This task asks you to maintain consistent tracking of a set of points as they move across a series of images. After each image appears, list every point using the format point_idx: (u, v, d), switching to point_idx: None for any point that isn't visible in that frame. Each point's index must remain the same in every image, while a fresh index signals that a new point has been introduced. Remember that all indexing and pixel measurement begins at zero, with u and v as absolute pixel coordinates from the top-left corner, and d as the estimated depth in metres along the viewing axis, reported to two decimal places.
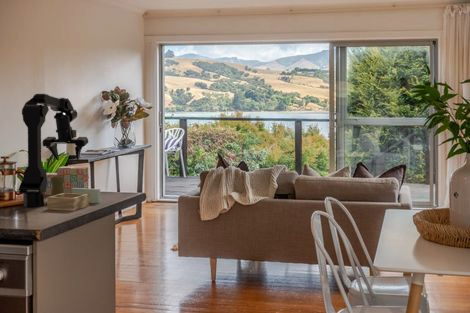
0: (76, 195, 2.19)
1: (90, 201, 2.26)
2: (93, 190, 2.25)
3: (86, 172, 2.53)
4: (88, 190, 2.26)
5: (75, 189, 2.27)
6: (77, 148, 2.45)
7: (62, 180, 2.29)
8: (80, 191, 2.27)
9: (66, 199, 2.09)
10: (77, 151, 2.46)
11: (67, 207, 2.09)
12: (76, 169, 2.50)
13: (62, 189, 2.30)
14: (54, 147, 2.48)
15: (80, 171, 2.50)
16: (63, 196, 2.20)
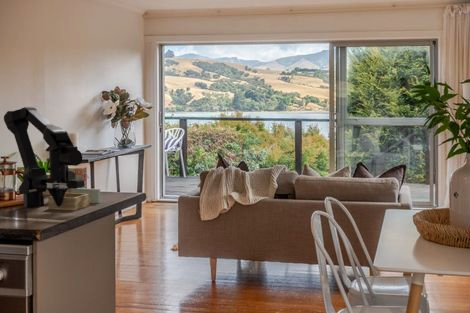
0: (77, 195, 2.20)
1: (90, 201, 2.26)
2: (93, 190, 2.25)
3: (84, 172, 2.53)
4: (88, 190, 2.26)
5: (75, 189, 2.27)
6: (58, 190, 2.05)
7: None
8: (80, 191, 2.27)
9: (67, 199, 2.09)
10: (58, 194, 2.06)
11: (68, 207, 2.10)
12: (75, 169, 2.50)
13: None
14: (55, 190, 2.08)
15: (78, 171, 2.50)
16: (64, 196, 2.20)
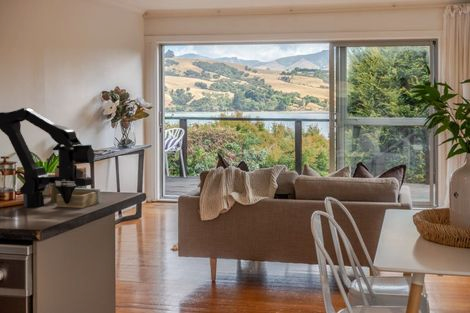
0: (84, 193, 2.25)
1: None
2: (93, 190, 2.25)
3: (84, 172, 2.54)
4: (88, 190, 2.26)
5: (75, 189, 2.27)
6: (66, 187, 2.10)
7: None
8: None
9: (75, 196, 2.15)
10: (66, 191, 2.11)
11: (76, 204, 2.15)
12: None
13: None
14: (64, 187, 2.13)
15: None
16: (72, 194, 2.25)
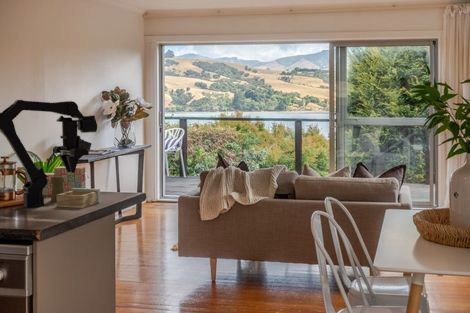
0: (84, 193, 2.25)
1: None
2: (93, 190, 2.25)
3: (83, 172, 2.54)
4: (88, 190, 2.26)
5: (75, 189, 2.27)
6: (67, 157, 2.20)
7: (62, 180, 2.29)
8: None
9: (75, 196, 2.15)
10: (68, 161, 2.20)
11: (76, 204, 2.15)
12: None
13: (62, 189, 2.30)
14: (66, 157, 2.25)
15: (77, 171, 2.50)
16: (72, 194, 2.25)
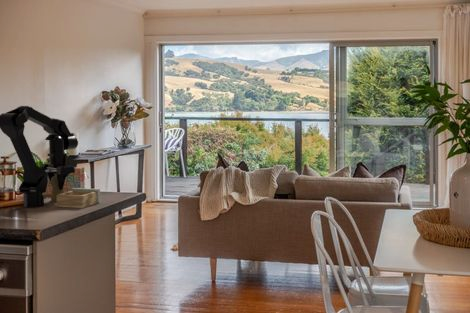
0: (84, 193, 2.25)
1: None
2: (93, 190, 2.25)
3: (82, 172, 2.53)
4: (88, 190, 2.26)
5: (75, 189, 2.27)
6: (55, 175, 2.25)
7: None
8: None
9: (75, 196, 2.15)
10: (56, 178, 2.26)
11: (76, 204, 2.15)
12: None
13: (62, 189, 2.30)
14: (52, 173, 2.32)
15: (76, 171, 2.50)
16: (72, 194, 2.25)
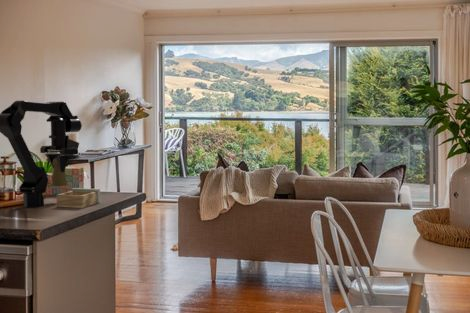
0: (84, 193, 2.25)
1: None
2: (93, 190, 2.25)
3: (81, 172, 2.53)
4: (88, 190, 2.26)
5: (75, 189, 2.27)
6: (58, 156, 2.23)
7: None
8: None
9: (75, 196, 2.15)
10: (59, 160, 2.24)
11: (76, 204, 2.15)
12: (71, 169, 2.49)
13: (64, 171, 2.28)
14: (53, 156, 2.30)
15: (75, 172, 2.49)
16: (72, 194, 2.25)
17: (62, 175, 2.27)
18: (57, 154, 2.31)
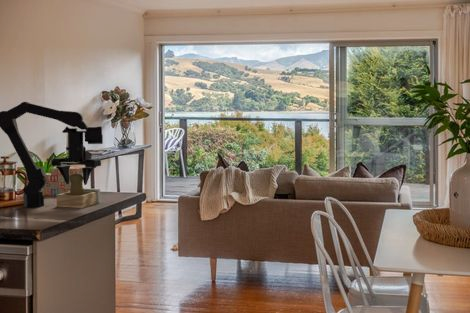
0: (84, 193, 2.25)
1: None
2: (93, 190, 2.25)
3: (80, 172, 2.52)
4: (88, 190, 2.26)
5: None
6: (84, 169, 2.15)
7: (82, 178, 2.20)
8: None
9: (75, 196, 2.15)
10: (84, 173, 2.16)
11: (76, 204, 2.15)
12: (70, 169, 2.48)
13: (82, 188, 2.21)
14: (65, 168, 2.20)
15: (73, 172, 2.48)
16: None
17: (81, 192, 2.20)
18: (67, 166, 2.22)
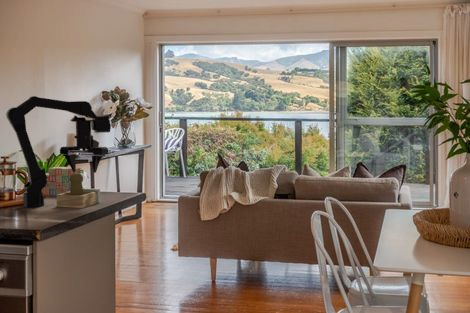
0: (84, 193, 2.25)
1: None
2: (93, 190, 2.25)
3: (78, 173, 2.51)
4: (88, 190, 2.26)
5: None
6: (94, 157, 2.21)
7: (82, 178, 2.20)
8: None
9: (75, 196, 2.15)
10: (94, 161, 2.21)
11: (76, 204, 2.15)
12: (68, 170, 2.47)
13: (82, 188, 2.21)
14: (71, 156, 2.26)
15: (71, 172, 2.47)
16: None
17: (81, 192, 2.20)
18: (74, 154, 2.27)
